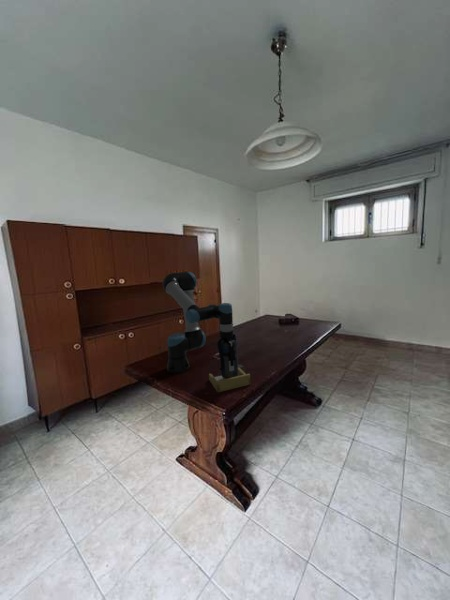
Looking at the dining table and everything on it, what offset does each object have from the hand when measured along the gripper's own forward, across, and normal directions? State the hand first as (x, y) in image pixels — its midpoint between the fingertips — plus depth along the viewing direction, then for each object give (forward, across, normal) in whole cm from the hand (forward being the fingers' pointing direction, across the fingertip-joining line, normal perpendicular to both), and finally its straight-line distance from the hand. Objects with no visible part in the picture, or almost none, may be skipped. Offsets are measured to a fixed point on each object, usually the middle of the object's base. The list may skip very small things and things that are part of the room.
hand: (228, 366), depth 145 cm
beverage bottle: (+6, 0, 0) cm, 6 cm away
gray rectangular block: (+10, +11, -11) cm, 18 cm away
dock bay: (+9, 0, 0) cm, 9 cm away
